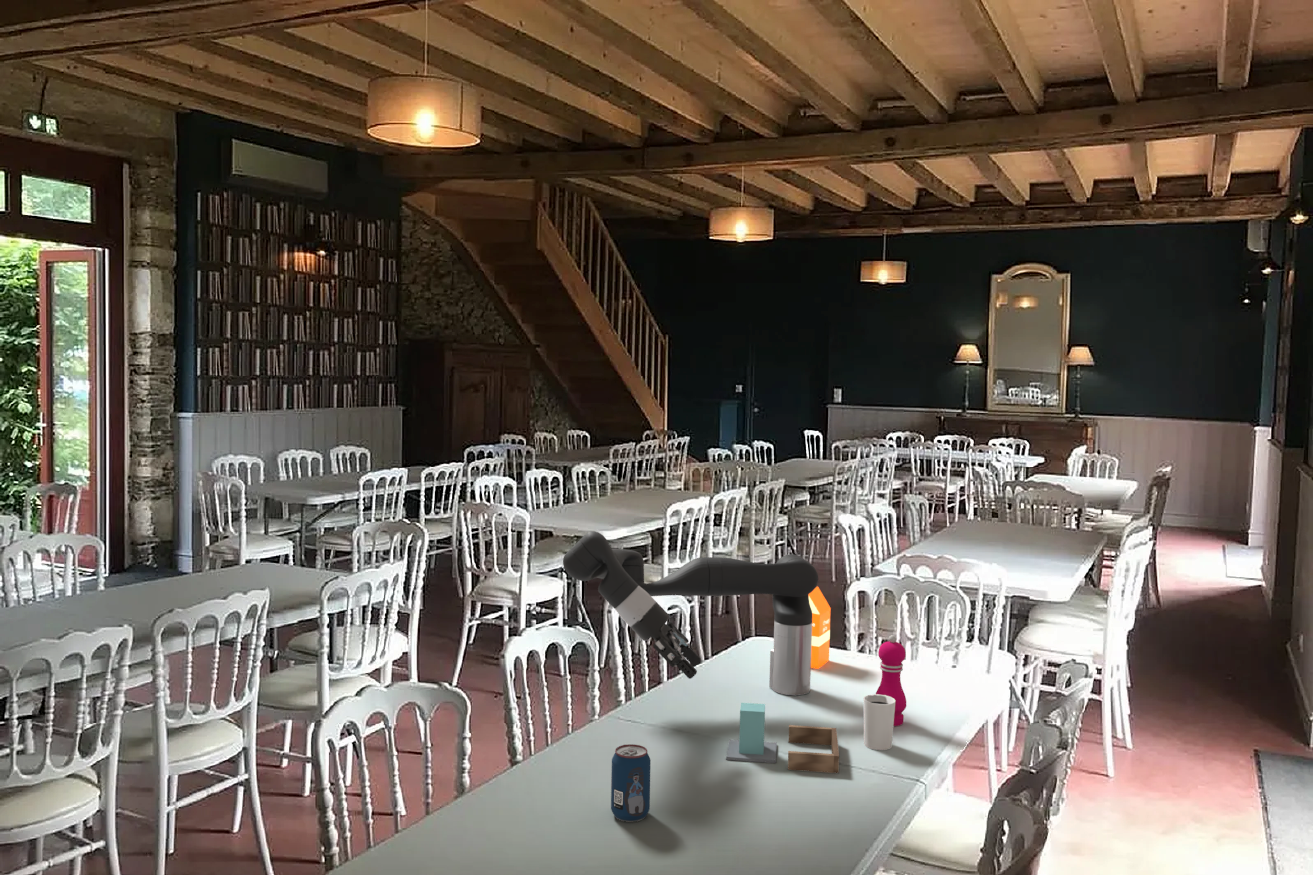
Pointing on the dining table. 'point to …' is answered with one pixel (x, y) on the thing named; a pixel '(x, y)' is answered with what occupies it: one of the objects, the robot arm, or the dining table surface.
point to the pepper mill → (893, 676)
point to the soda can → (630, 783)
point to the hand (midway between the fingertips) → (696, 669)
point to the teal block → (752, 728)
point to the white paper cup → (878, 721)
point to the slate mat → (767, 756)
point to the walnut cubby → (809, 759)
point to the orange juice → (819, 628)
